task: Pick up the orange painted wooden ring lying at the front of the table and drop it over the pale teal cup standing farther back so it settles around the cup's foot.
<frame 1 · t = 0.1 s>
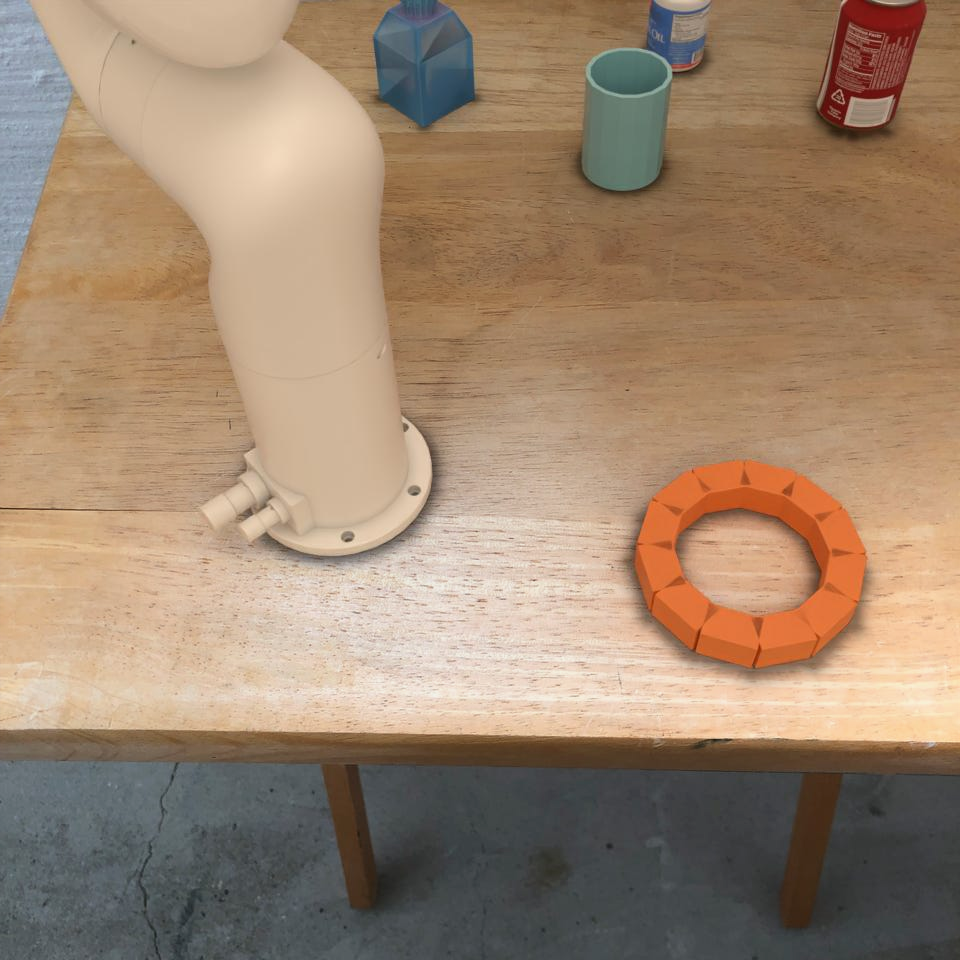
pill bottle: (673, 59, 104), on the table
cup: (621, 165, 94), on the table
soda can: (853, 116, 98), on the table
ring: (745, 569, 70), on the table
perfume bottle: (427, 100, 101), on the table
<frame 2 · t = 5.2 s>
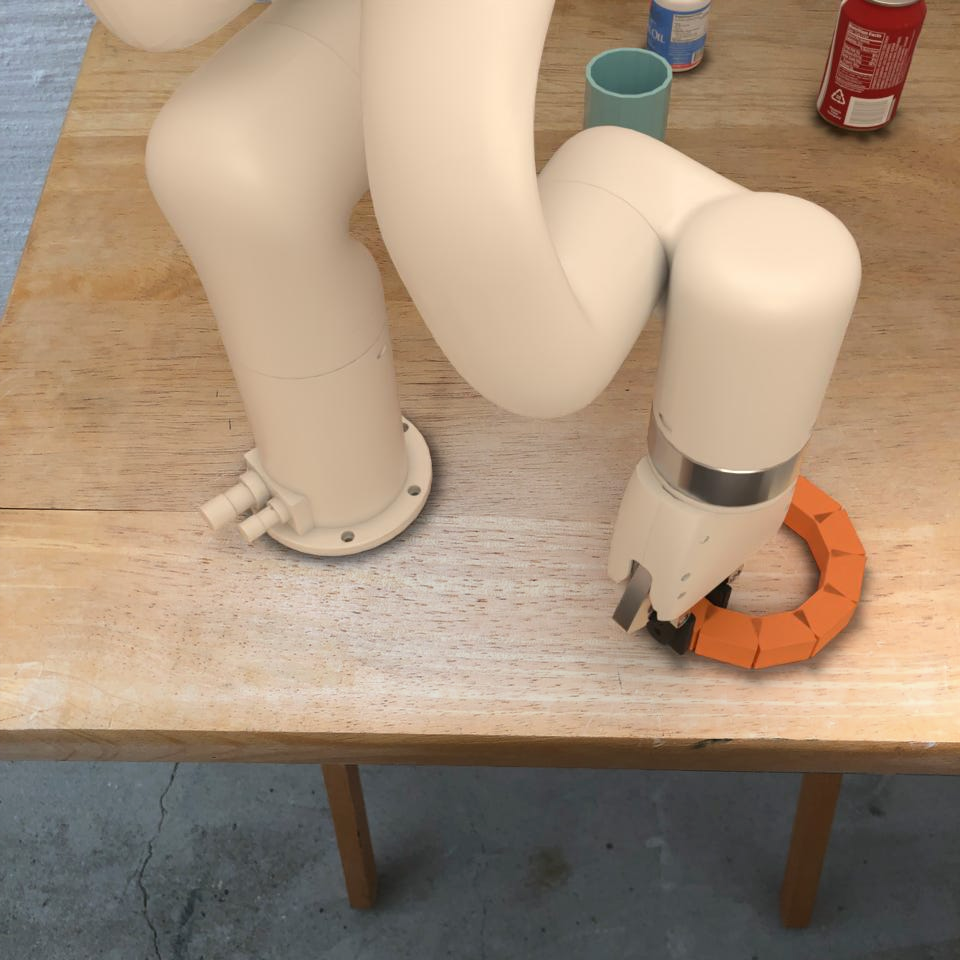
hand: (683, 620, 68), 0 cm above the table, tool pointing down, fingers closed on ring, 2 cm apart
ring: (744, 569, 70), on the table, touching gripper
everything else where it was.
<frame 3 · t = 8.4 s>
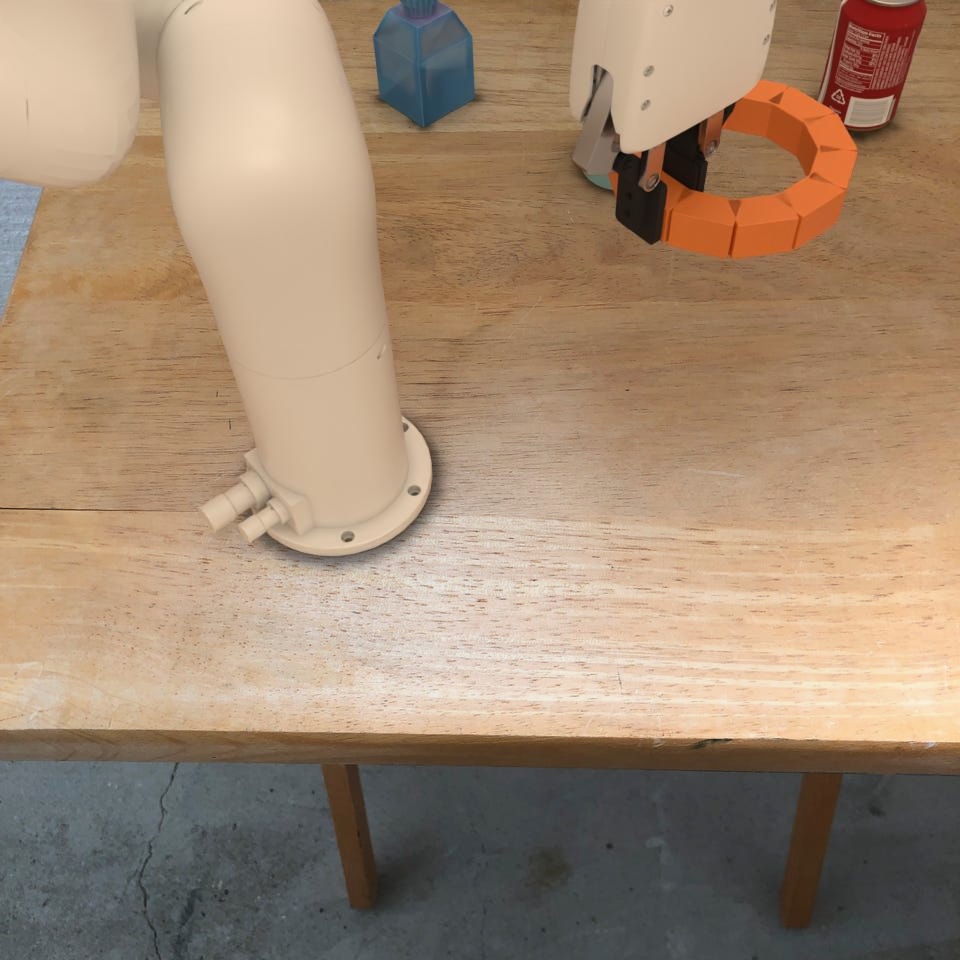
hand: (657, 217, 63), 18 cm above the table, tool pointing down, fingers closed on ring
ring: (726, 179, 65), point 18 cm above the table, touching gripper
everything else where it was.
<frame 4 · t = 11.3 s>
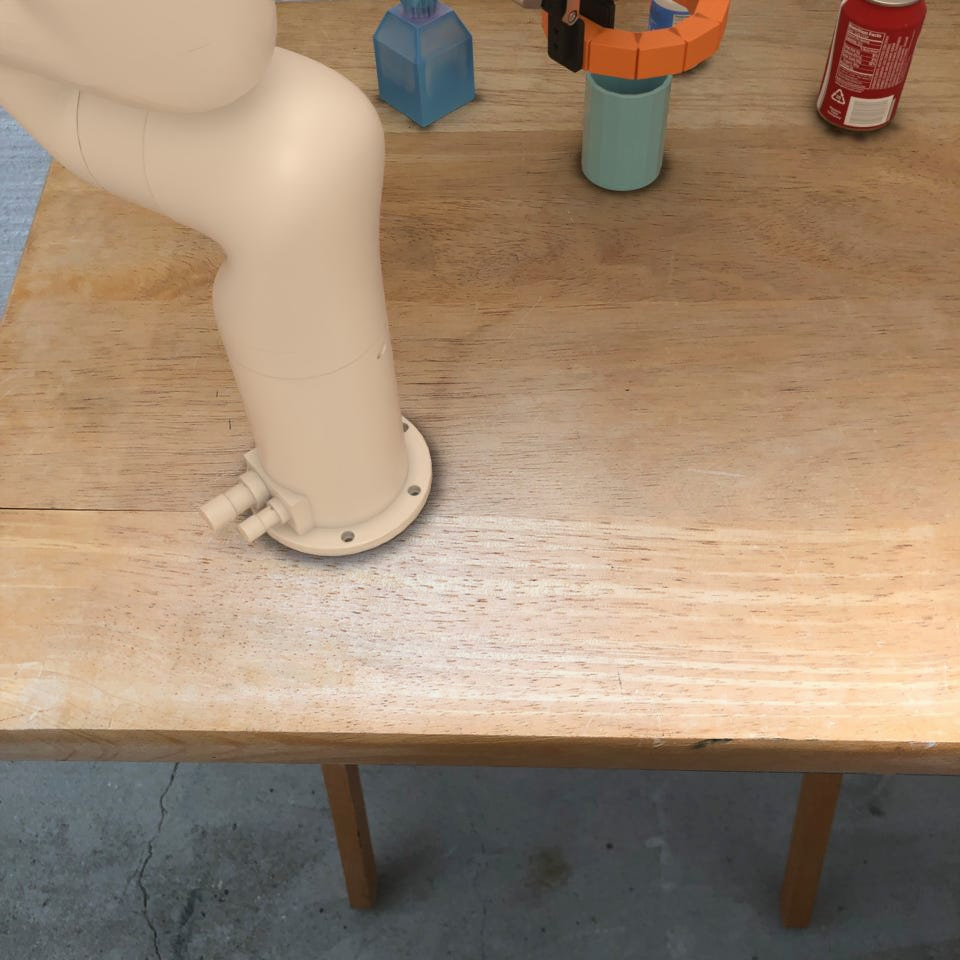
hand: (579, 53, 82), 13 cm above the table, tool pointing down, fingers closed on ring
ring: (633, 25, 84), point 13 cm above the table, touching gripper
everything else where it was.
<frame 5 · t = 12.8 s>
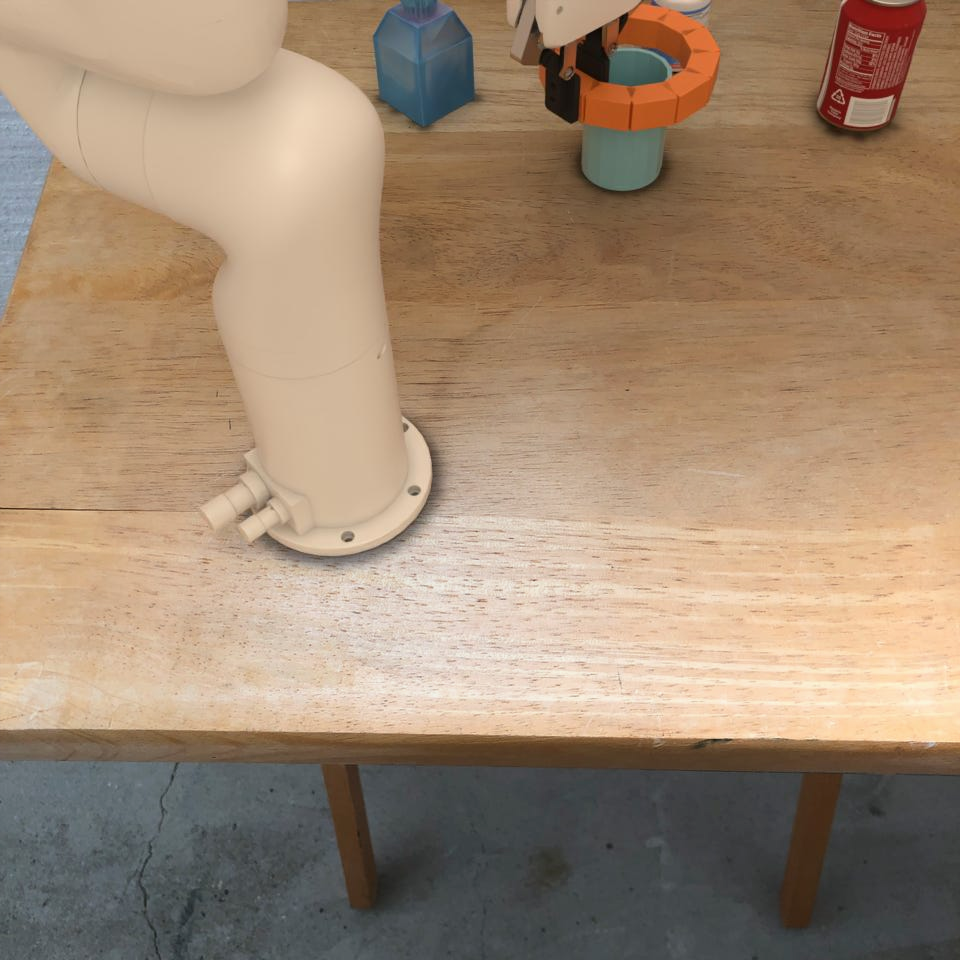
hand: (575, 105, 85), 9 cm above the table, tool pointing down, fingers closed on ring
ring: (627, 78, 87), point 9 cm above the table, touching gripper
everything else where it was.
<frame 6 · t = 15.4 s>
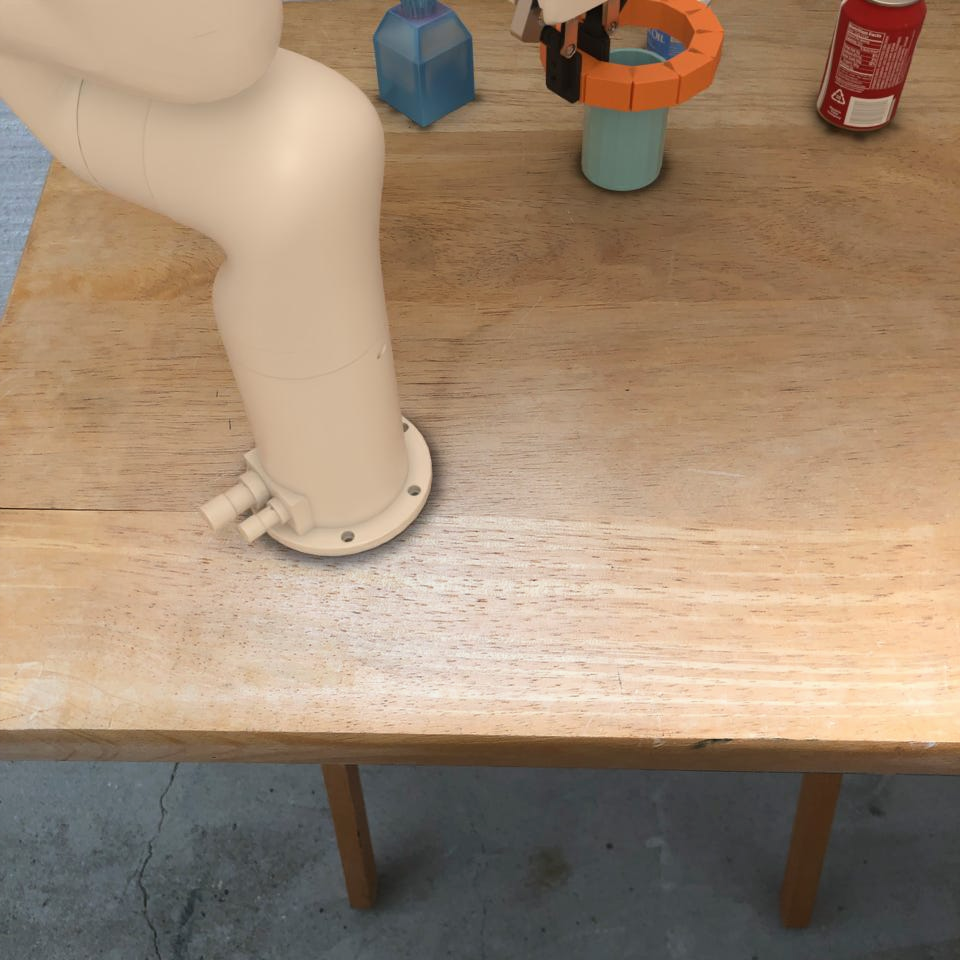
hand: (576, 85, 84), 11 cm above the table, tool pointing down, fingers closed on ring
ring: (629, 58, 86), point 10 cm above the table, touching gripper
everything else where it was.
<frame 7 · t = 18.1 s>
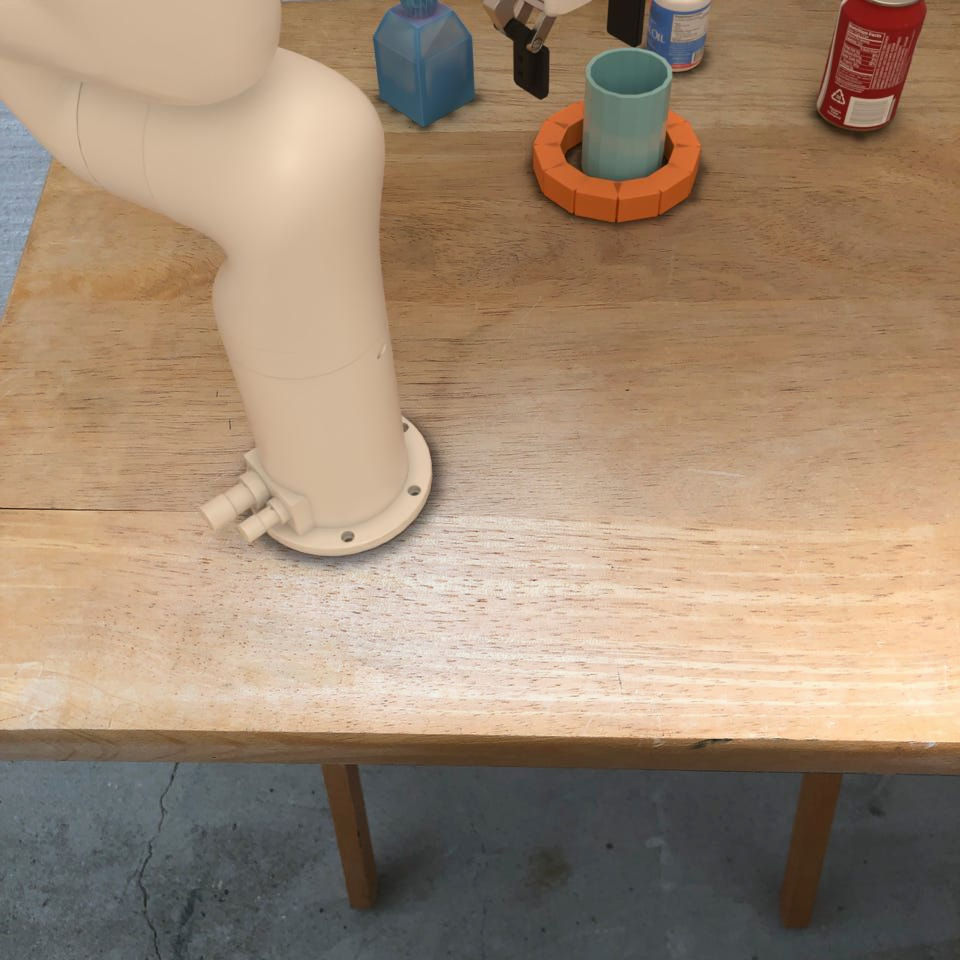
hand: (578, 64, 82), 12 cm above the table, tool pointing down, fingers open, 9 cm apart
ring: (615, 168, 94), on the table
everything else where it was.
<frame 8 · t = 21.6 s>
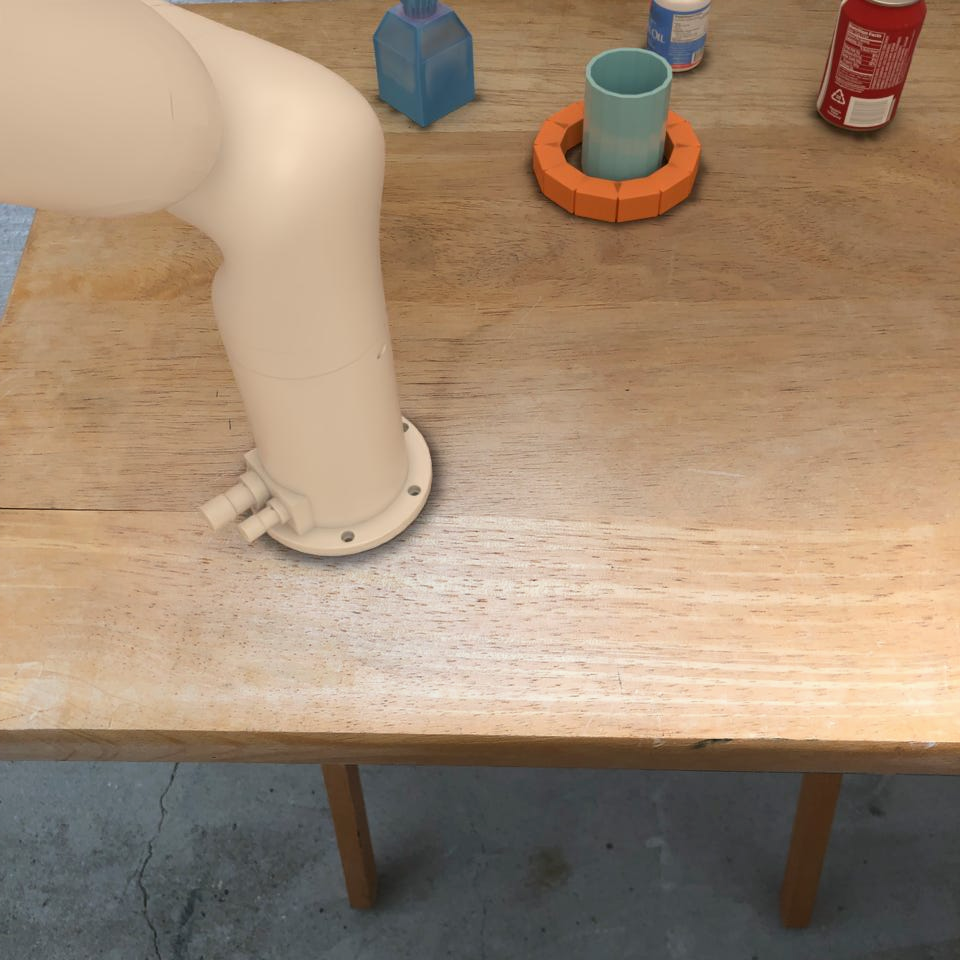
nothing on the table moved.
at the end: ring 0.7 cm from the cup (horizontally); ring on the table; the gripper is holding nothing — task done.
